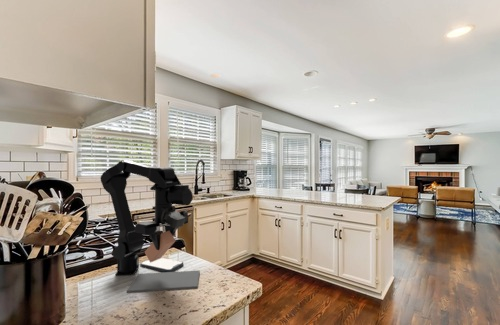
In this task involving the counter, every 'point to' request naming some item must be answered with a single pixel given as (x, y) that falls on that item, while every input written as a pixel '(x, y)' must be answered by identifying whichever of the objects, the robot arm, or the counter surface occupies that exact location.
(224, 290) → the counter surface
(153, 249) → the block
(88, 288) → the counter surface
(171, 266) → the smartphone
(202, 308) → the counter surface
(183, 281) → the mat
